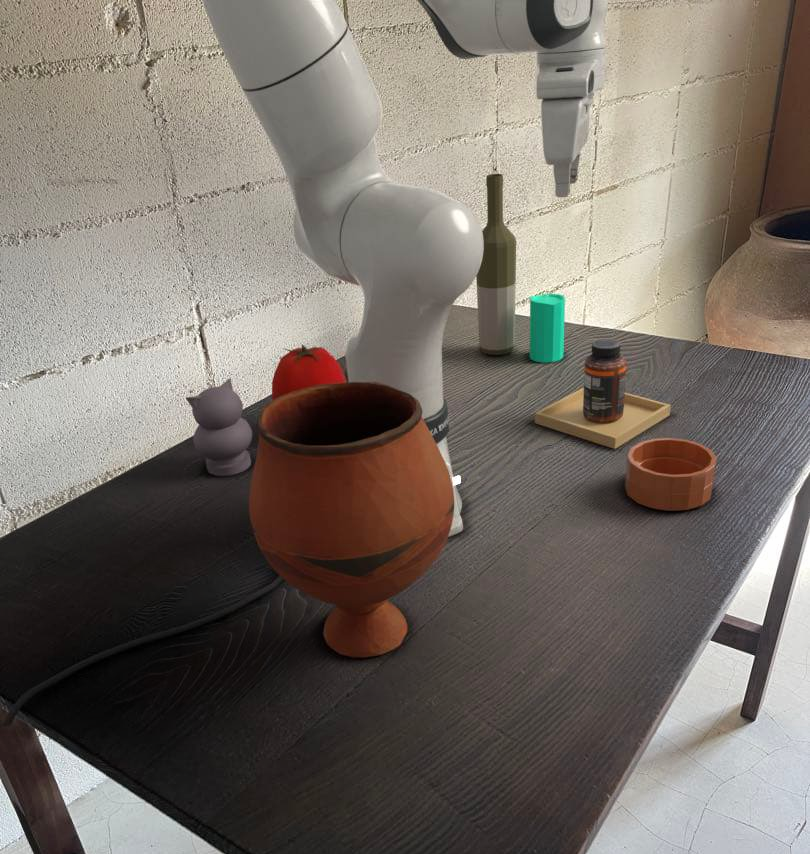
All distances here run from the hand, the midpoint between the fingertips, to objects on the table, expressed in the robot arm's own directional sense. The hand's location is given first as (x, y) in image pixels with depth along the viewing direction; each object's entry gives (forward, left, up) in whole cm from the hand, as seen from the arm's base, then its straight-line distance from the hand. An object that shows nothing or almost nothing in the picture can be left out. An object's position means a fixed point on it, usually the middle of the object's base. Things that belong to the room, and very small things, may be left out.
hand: (566, 189), depth 115 cm
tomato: (-32, +23, -31) cm, 50 cm away
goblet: (-60, -21, -31) cm, 71 cm away
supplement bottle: (-3, -10, -31) cm, 33 cm away
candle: (+13, +13, -31) cm, 36 cm away
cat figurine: (-48, +23, -31) cm, 62 cm away
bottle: (+10, +22, -31) cm, 40 cm away
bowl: (-16, -29, -31) cm, 45 cm away
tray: (-3, -10, -31) cm, 33 cm away
